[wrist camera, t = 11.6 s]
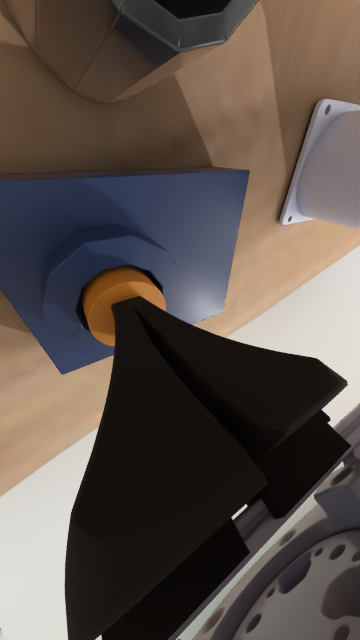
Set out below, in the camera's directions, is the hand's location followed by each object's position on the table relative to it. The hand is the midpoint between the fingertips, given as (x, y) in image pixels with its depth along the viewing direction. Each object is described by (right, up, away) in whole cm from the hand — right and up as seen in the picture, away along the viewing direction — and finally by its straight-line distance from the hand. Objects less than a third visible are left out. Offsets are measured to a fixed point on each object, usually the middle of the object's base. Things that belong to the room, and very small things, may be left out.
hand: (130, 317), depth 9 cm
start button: (-1, +1, +1) cm, 2 cm away
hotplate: (-1, +4, +5) cm, 6 cm away
